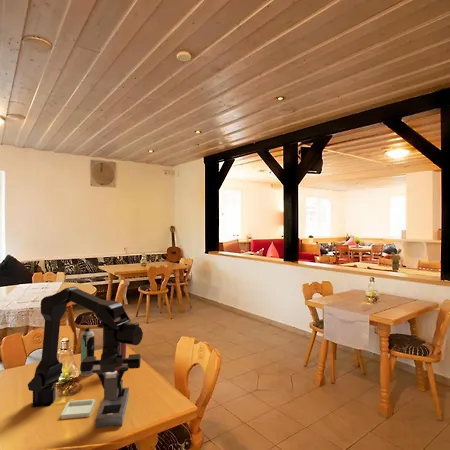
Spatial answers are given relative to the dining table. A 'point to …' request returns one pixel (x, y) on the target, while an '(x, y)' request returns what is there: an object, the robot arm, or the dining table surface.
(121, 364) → the robot arm
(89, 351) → the spray can
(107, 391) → the plug
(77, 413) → the tray
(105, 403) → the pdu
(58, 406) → the dining table surface
